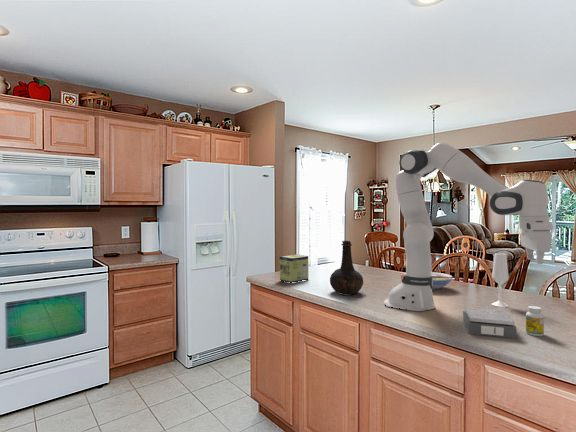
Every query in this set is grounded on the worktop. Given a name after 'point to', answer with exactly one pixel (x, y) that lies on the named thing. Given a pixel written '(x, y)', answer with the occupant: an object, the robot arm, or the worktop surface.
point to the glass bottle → (346, 274)
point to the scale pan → (489, 316)
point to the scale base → (489, 328)
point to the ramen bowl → (440, 280)
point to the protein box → (293, 268)
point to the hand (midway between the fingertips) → (534, 261)
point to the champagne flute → (500, 274)
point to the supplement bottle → (534, 321)
